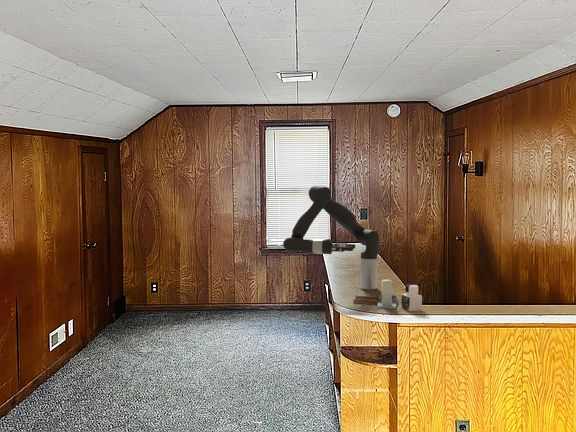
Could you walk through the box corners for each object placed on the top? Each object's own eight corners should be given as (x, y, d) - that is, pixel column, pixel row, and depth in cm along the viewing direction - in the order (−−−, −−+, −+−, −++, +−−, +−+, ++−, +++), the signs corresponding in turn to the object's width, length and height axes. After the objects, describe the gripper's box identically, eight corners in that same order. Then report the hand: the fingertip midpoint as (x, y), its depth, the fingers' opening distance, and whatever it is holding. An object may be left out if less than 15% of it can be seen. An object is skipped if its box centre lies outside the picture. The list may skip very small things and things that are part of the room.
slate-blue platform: (378, 304, 299) (378, 302, 299) (396, 305, 297) (396, 303, 297) (377, 307, 292) (377, 305, 292) (395, 308, 290) (395, 306, 289)
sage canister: (382, 303, 297) (382, 279, 296) (392, 303, 296) (392, 279, 295) (381, 305, 292) (381, 281, 292) (391, 305, 291) (391, 281, 290)
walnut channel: (355, 299, 311) (355, 295, 311) (378, 300, 308) (378, 296, 308) (353, 302, 302) (353, 299, 302) (377, 304, 299) (377, 300, 299)
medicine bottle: (401, 308, 291) (401, 283, 290) (413, 306, 294) (414, 282, 293) (409, 311, 285) (409, 286, 284) (421, 310, 287) (422, 285, 286)
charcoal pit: (380, 300, 308) (380, 294, 307) (396, 301, 306) (396, 295, 305) (378, 304, 299) (378, 298, 299) (396, 305, 297) (396, 299, 297)
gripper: (320, 241, 297) (352, 242, 294) (324, 237, 311) (355, 238, 308) (319, 256, 298) (352, 257, 294) (324, 251, 312) (355, 253, 308)
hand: (354, 247), depth 301 cm, fingers open, 8 cm apart
